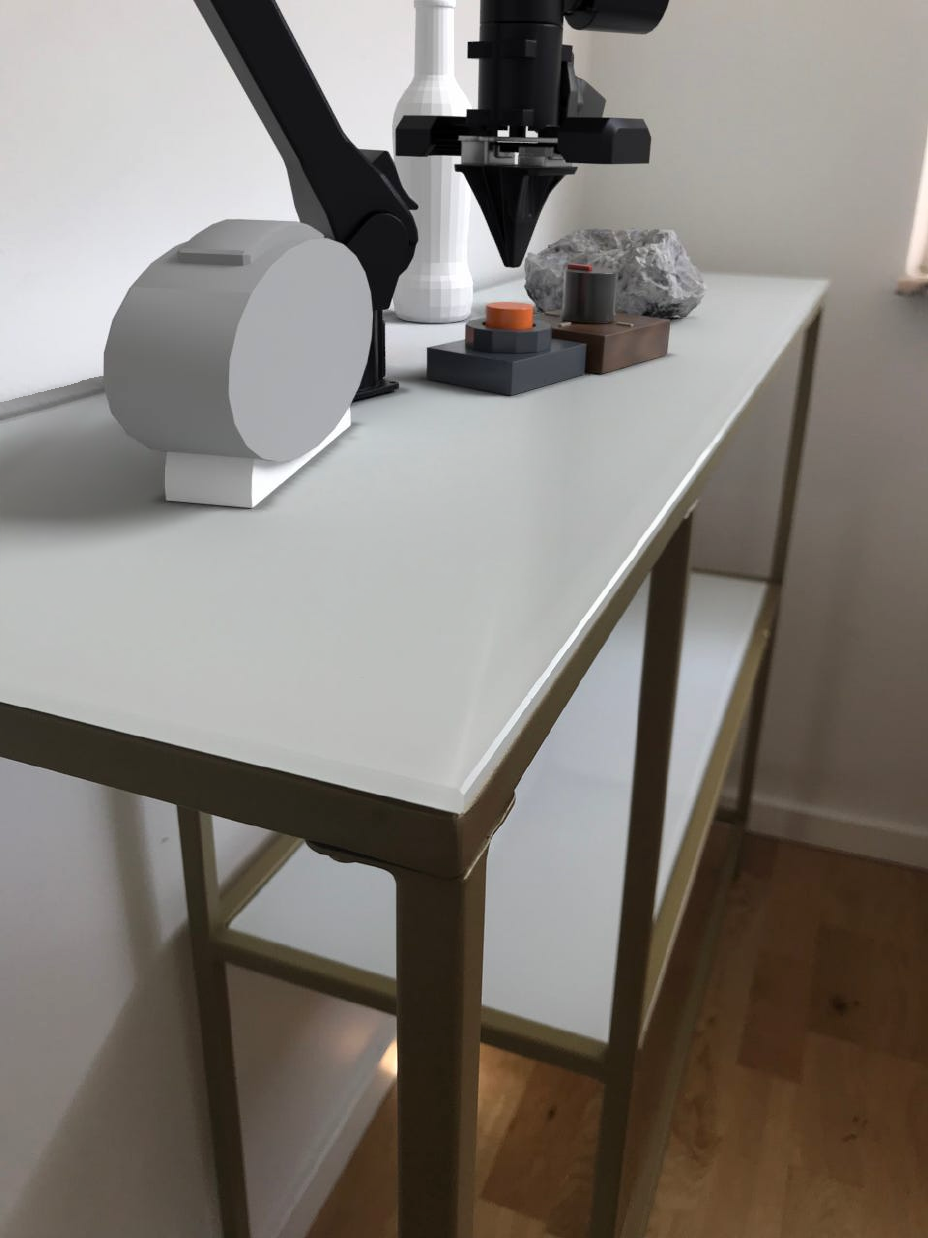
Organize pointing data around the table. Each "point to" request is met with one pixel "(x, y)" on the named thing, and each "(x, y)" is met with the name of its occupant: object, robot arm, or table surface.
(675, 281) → the rock
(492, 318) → the button
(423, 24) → the bottle
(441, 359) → the button box
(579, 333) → the panel
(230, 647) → the table surface
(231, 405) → the alarm clock
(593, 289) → the knob
